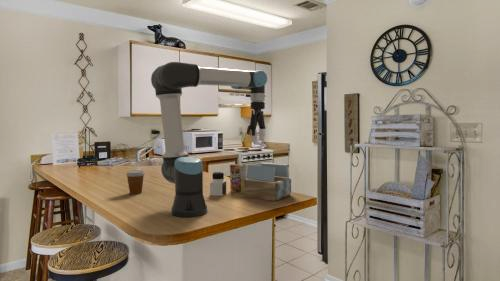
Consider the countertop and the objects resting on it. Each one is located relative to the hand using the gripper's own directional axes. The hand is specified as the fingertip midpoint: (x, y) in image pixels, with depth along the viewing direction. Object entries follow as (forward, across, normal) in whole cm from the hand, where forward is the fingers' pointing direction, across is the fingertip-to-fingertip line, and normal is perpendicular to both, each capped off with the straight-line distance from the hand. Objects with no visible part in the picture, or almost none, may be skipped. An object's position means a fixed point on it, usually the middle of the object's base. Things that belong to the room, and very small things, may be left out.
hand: (257, 141), depth 176 cm
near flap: (+19, -10, -4) cm, 22 cm away
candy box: (+29, +2, +12) cm, 31 cm away
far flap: (+19, +5, -9) cm, 22 cm away
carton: (+28, -3, -6) cm, 29 cm away
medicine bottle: (+29, -7, +20) cm, 36 cm away
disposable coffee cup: (+29, -18, +65) cm, 73 cm away
